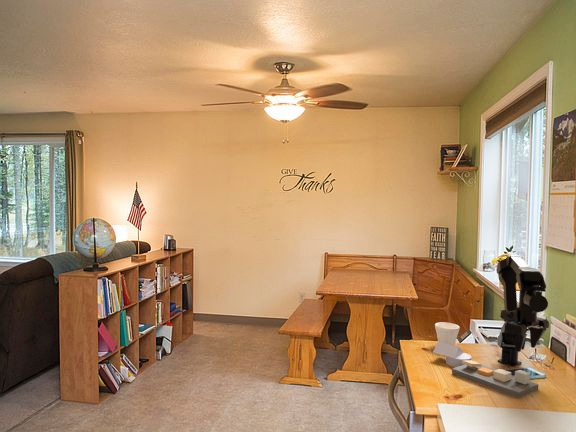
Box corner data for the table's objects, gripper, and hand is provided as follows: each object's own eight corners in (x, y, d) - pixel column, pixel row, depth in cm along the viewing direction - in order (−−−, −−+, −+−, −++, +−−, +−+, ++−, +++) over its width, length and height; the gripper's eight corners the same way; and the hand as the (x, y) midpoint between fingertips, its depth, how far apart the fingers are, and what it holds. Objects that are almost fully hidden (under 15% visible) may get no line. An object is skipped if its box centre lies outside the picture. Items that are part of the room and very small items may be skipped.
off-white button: (499, 375, 160) (499, 368, 159) (510, 379, 156) (511, 372, 156) (493, 378, 157) (493, 370, 157) (504, 382, 154) (504, 374, 154)
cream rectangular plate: (471, 363, 169) (471, 360, 169) (481, 366, 166) (481, 363, 166) (461, 363, 166) (462, 360, 166) (471, 366, 163) (472, 363, 163)
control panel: (472, 367, 173) (473, 359, 173) (538, 389, 153) (538, 381, 153) (451, 374, 165) (452, 366, 165) (518, 398, 146) (518, 390, 146)
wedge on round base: (432, 361, 178) (466, 370, 170) (433, 344, 178) (466, 352, 169) (441, 355, 185) (474, 363, 176) (442, 339, 185) (475, 346, 176)
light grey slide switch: (519, 379, 156) (519, 369, 156) (529, 382, 153) (529, 373, 153) (514, 380, 154) (514, 371, 154) (524, 384, 152) (525, 374, 151)
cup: (455, 352, 189) (456, 330, 189) (431, 347, 194) (432, 326, 194) (460, 346, 198) (461, 324, 197) (437, 341, 203) (438, 321, 203)
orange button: (483, 373, 164) (483, 367, 164) (493, 377, 161) (494, 370, 161) (477, 376, 162) (477, 369, 162) (487, 380, 159) (488, 372, 159)
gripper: (520, 298, 172) (518, 339, 173) (491, 303, 162) (488, 346, 162) (550, 304, 163) (548, 347, 163) (521, 310, 152) (519, 356, 153)
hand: (525, 349), depth 161 cm, fingers open, 9 cm apart
